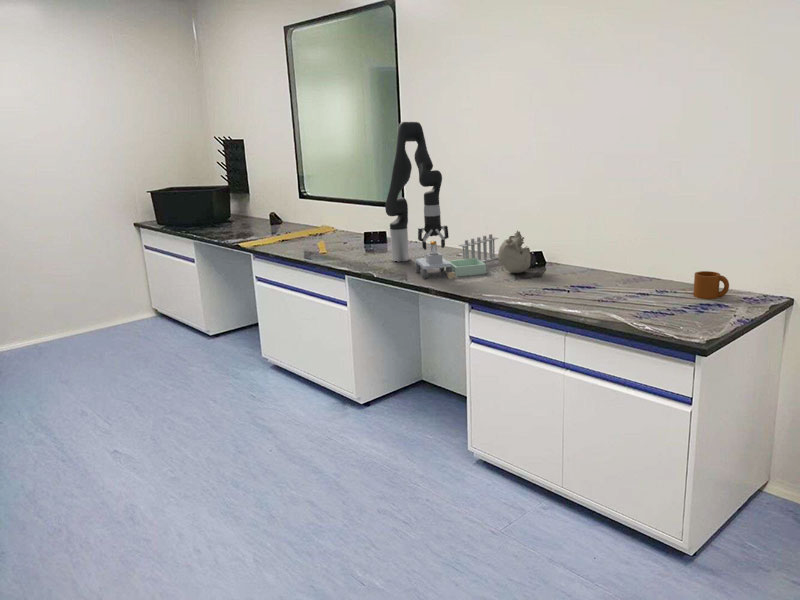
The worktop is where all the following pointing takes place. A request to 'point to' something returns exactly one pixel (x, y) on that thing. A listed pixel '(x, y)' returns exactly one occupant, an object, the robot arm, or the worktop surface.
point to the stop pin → (433, 248)
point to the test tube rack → (478, 242)
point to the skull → (514, 254)
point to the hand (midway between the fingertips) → (433, 248)
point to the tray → (468, 267)
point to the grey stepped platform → (433, 264)
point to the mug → (709, 285)
